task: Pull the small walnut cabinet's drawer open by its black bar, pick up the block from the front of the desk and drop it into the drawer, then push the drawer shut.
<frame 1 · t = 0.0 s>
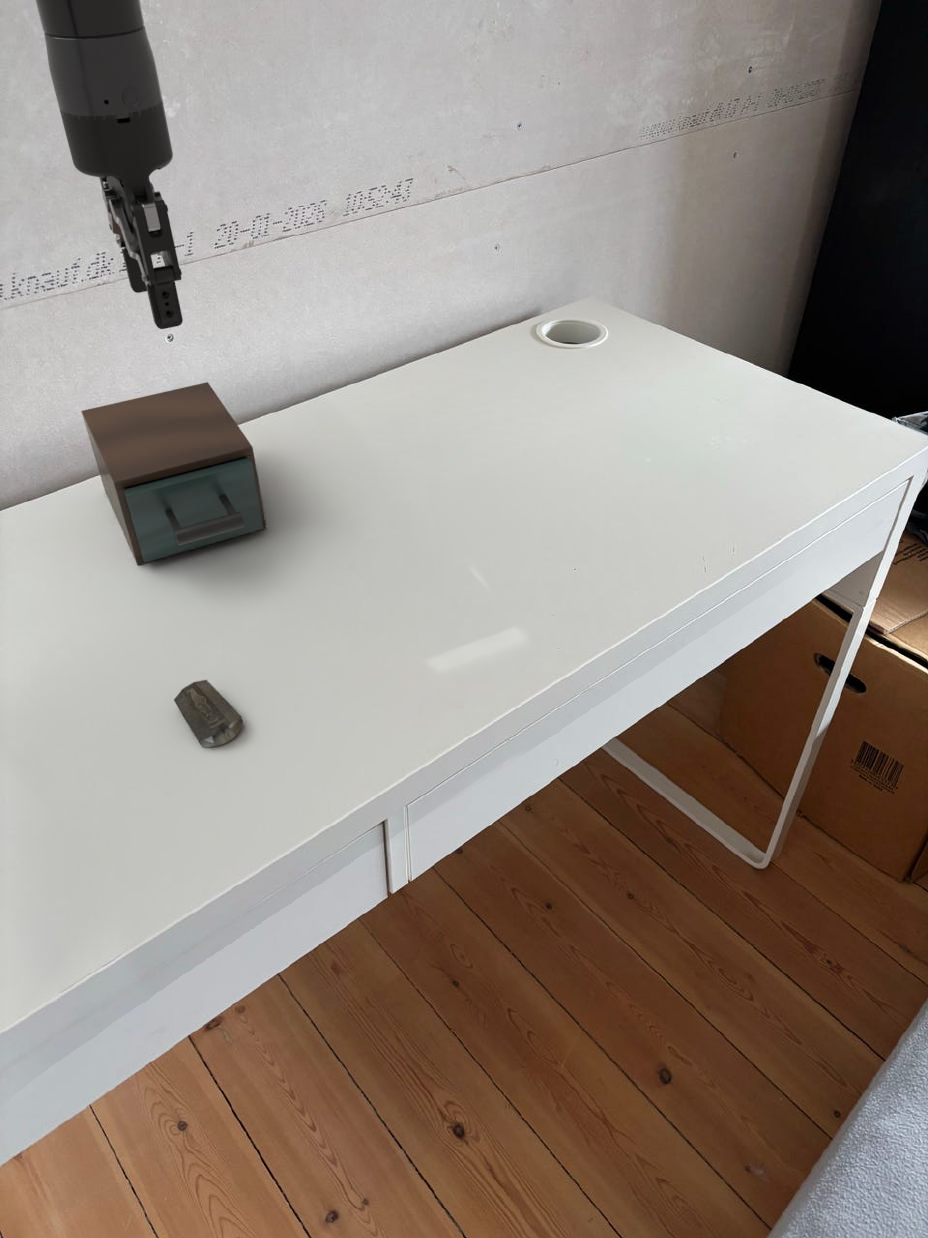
hand: (156, 307, 84), 21 cm above the table, tool pointing down, fingers open, 8 cm apart
cabinet: (183, 508, 98), on the table
drawer: (185, 490, 92), point 5 cm above the table, slide at 0.0 cm
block: (210, 723, 76), on the table
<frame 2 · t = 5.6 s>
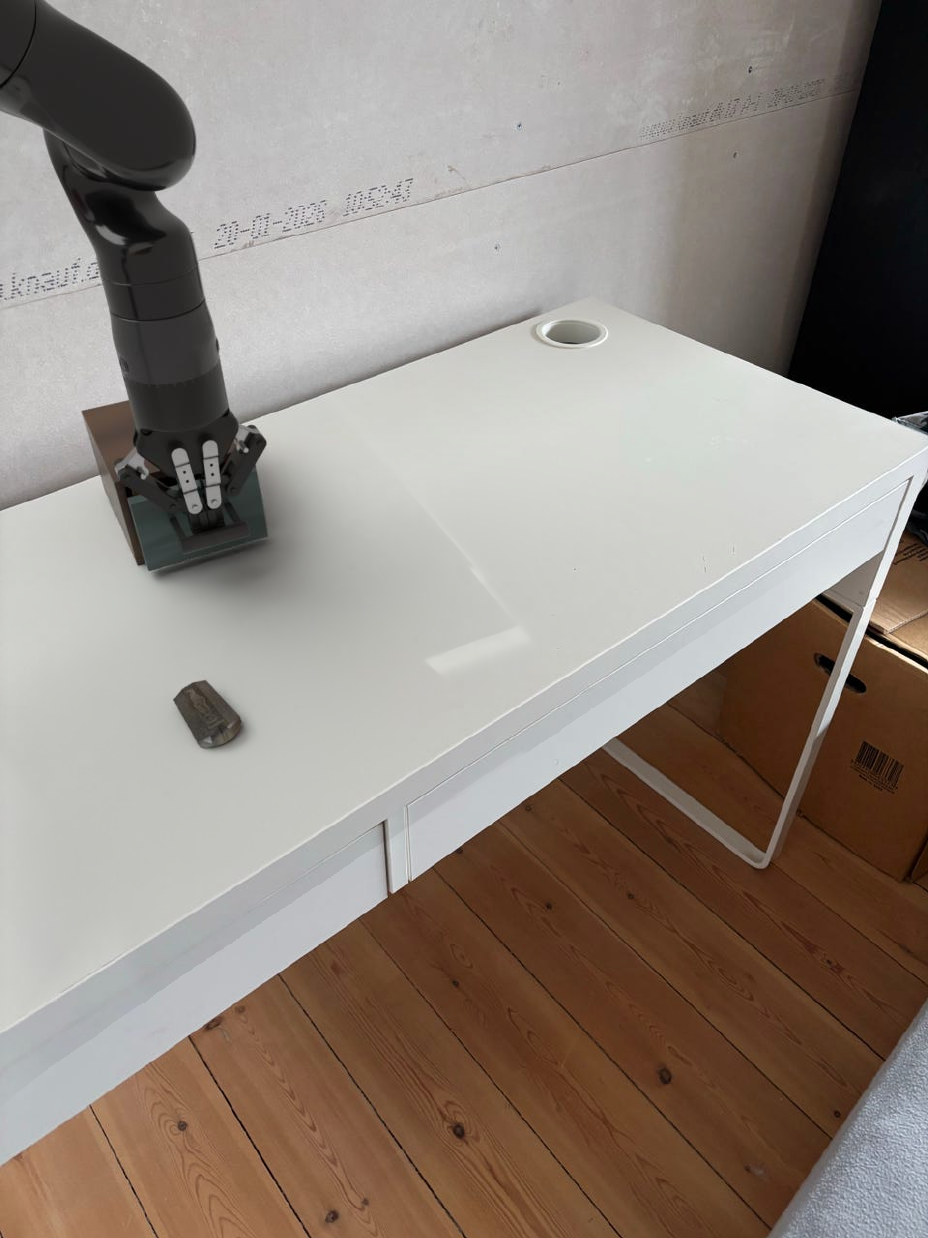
hand: (210, 539, 87), 4 cm above the table, tool pointing down, fingers closed
drawer: (190, 498, 91), point 5 cm above the table, slide at 1.5 cm, touching gripper
everything else where it was.
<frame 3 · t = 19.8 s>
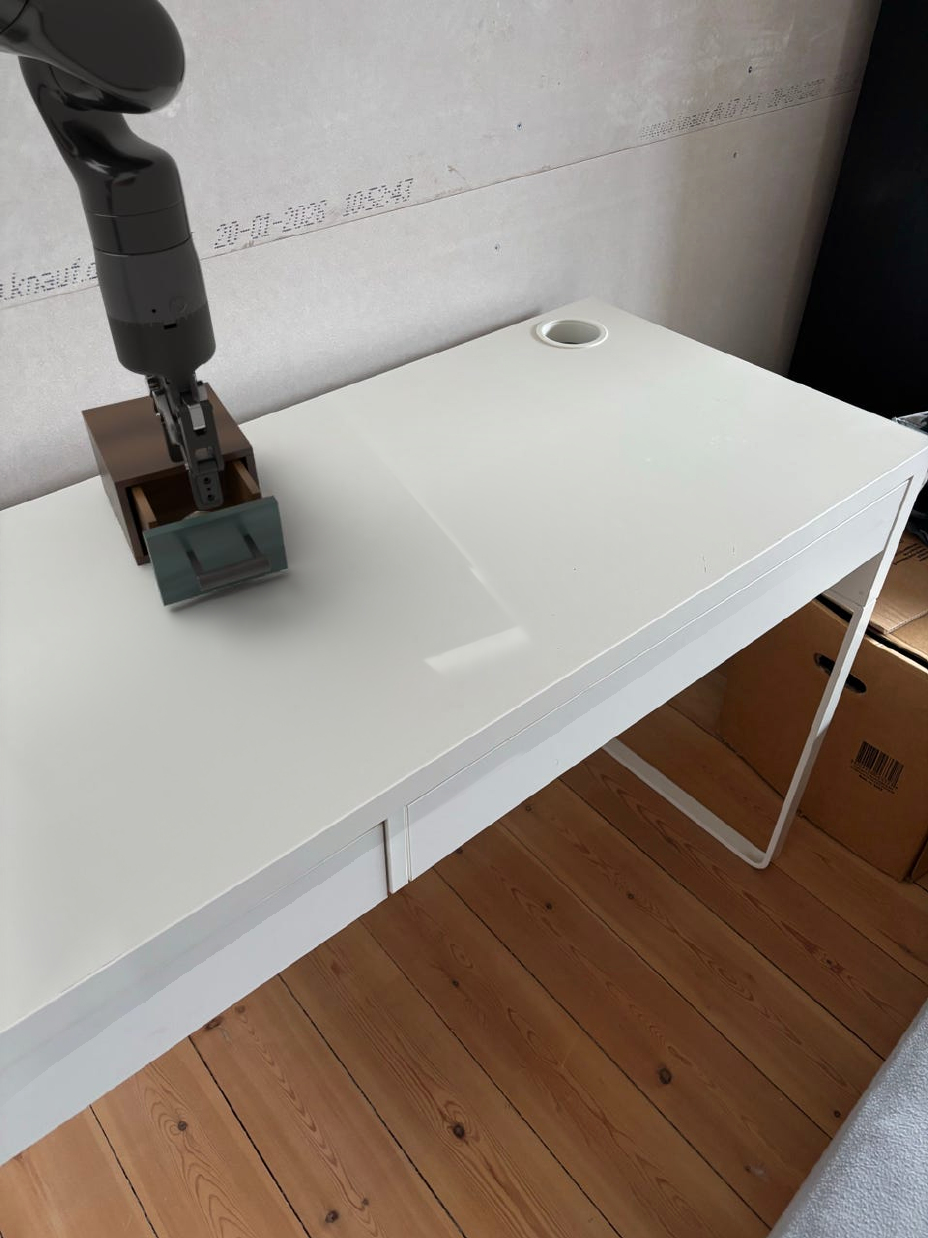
hand: (196, 481, 84), 10 cm above the table, tool pointing down, fingers open, 8 cm apart
drawer: (206, 529, 88), point 5 cm above the table, slide at 7.1 cm, touching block
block: (200, 541, 86), point 4 cm above the table, touching drawer
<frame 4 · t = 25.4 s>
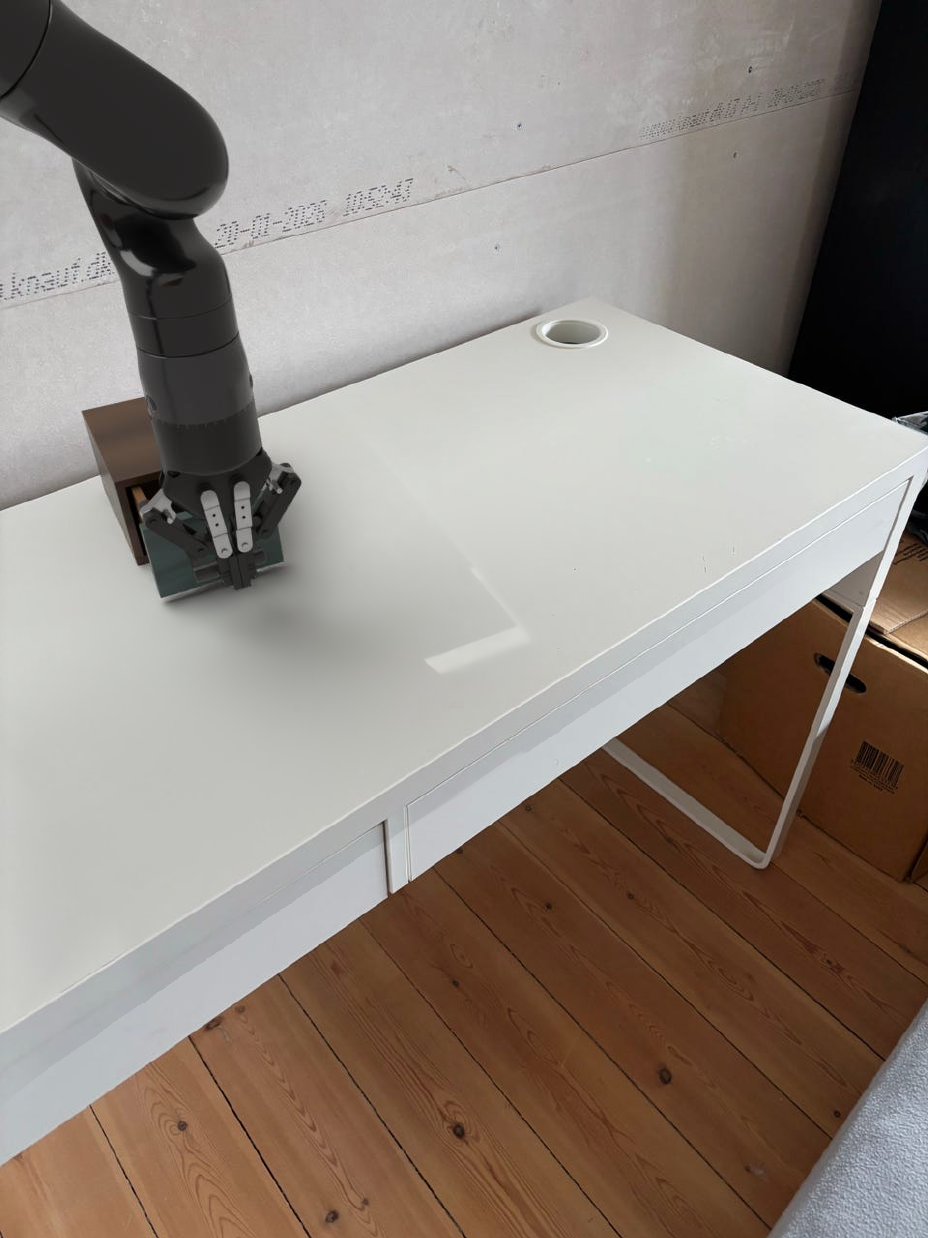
hand: (239, 583, 81), 5 cm above the table, tool pointing down, fingers closed
drawer: (203, 522, 88), point 5 cm above the table, slide at 5.9 cm, touching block, gripper
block: (200, 534, 87), point 4 cm above the table, touching drawer
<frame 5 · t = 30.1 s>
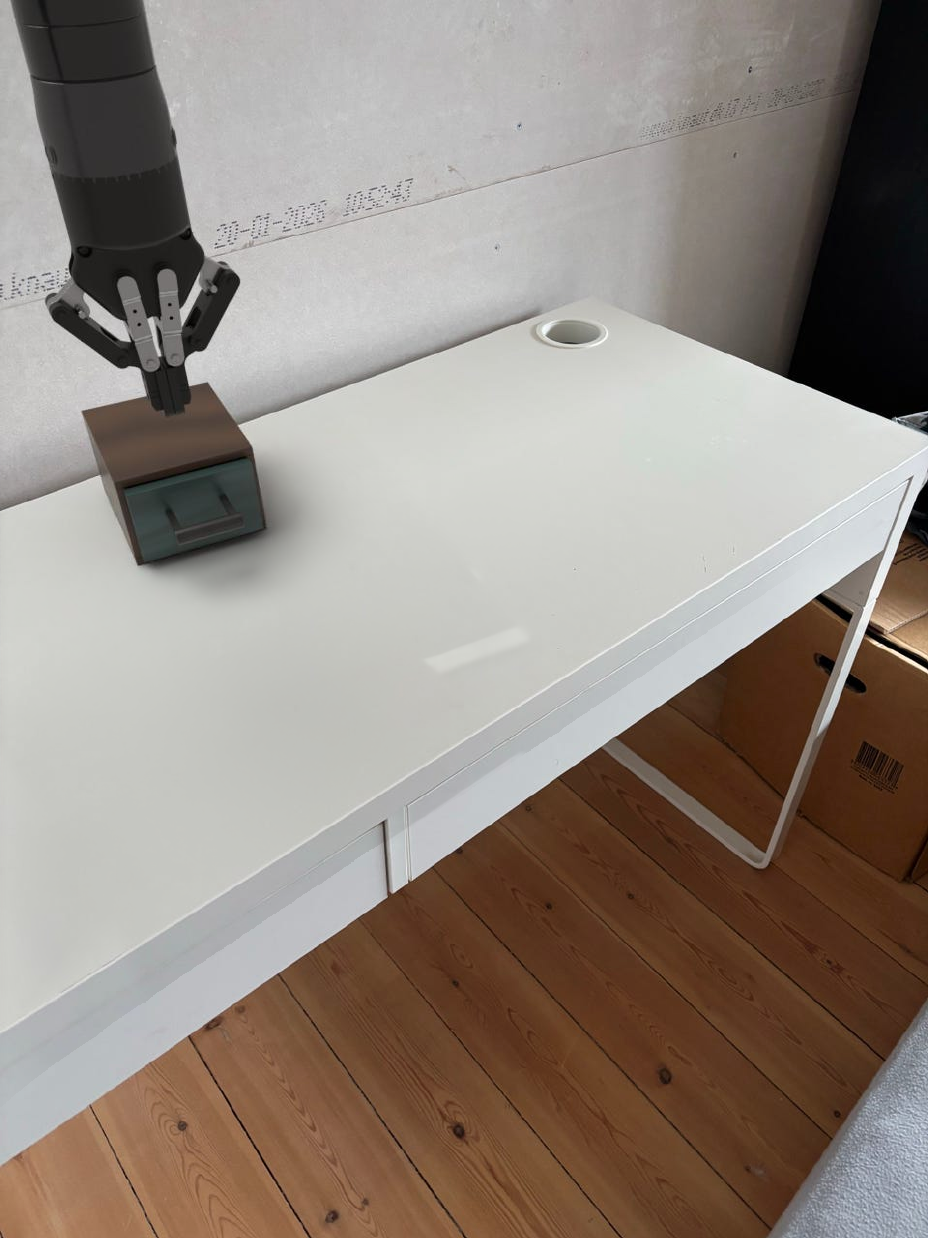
hand: (171, 410, 70), 21 cm above the table, tool pointing down, fingers closed
drawer: (185, 490, 92), point 5 cm above the table, slide at 0.0 cm, touching cabinet, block
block: (182, 502, 91), point 4 cm above the table, touching drawer
at the end: drawer pulled out 7.3 cm at the most during the clip, back to where it started at the end; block inside the target area in the cabinet (5.2 cm from its centre), point 4.3 cm above the cabinet's base; drawer slide at 0.0 cm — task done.
